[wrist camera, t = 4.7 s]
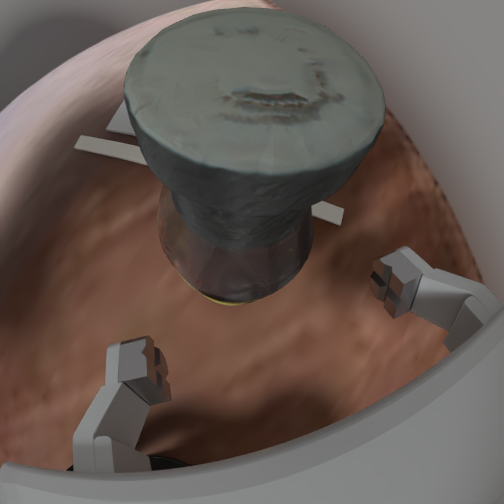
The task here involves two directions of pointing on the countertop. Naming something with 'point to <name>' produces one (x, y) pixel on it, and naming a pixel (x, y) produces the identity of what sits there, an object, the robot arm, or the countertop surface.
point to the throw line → (135, 155)
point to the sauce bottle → (248, 140)
